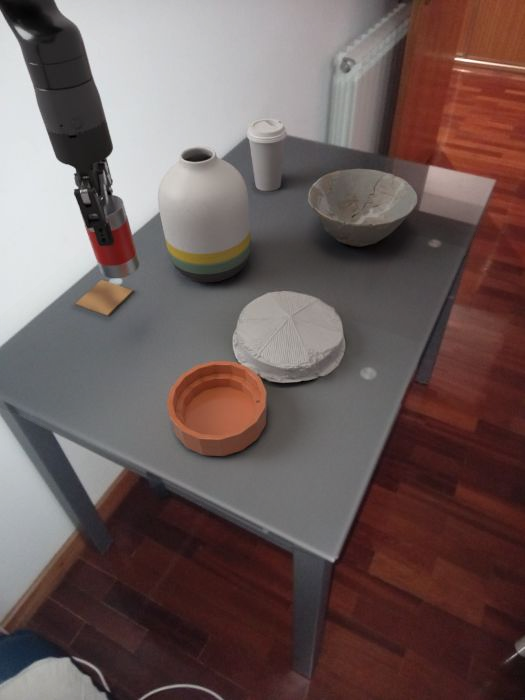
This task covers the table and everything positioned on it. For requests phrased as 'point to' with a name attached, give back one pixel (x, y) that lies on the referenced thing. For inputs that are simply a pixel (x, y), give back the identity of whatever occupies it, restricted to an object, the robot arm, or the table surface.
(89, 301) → the coaster
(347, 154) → the table surface
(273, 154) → the coffee cup
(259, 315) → the white round slab
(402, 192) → the ceramic bowl
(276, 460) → the table surface
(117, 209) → the can
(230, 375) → the dish
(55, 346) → the table surface
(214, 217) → the vase
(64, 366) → the table surface
